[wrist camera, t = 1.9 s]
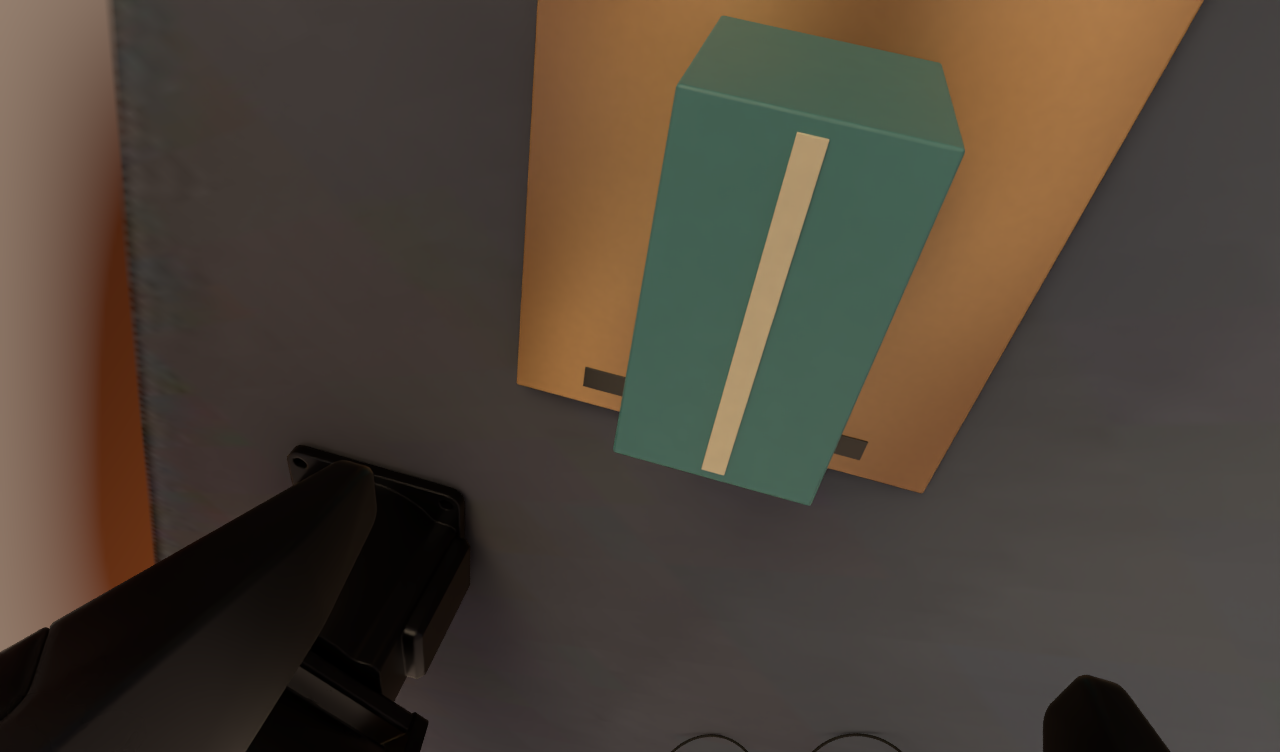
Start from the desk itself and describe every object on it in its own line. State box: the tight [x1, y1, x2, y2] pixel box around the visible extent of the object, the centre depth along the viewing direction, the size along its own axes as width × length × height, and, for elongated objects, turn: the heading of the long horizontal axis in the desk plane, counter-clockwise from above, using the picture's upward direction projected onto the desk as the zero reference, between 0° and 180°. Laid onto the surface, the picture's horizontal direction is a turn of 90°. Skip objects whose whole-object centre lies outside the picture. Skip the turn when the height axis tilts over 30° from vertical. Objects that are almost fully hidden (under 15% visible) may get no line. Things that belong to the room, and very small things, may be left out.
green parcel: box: [613, 16, 965, 505], centre depth 16 cm, size 8×4×5 cm, turn 171°
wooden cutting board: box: [517, 0, 1204, 493], centre depth 18 cm, size 12×14×1 cm
